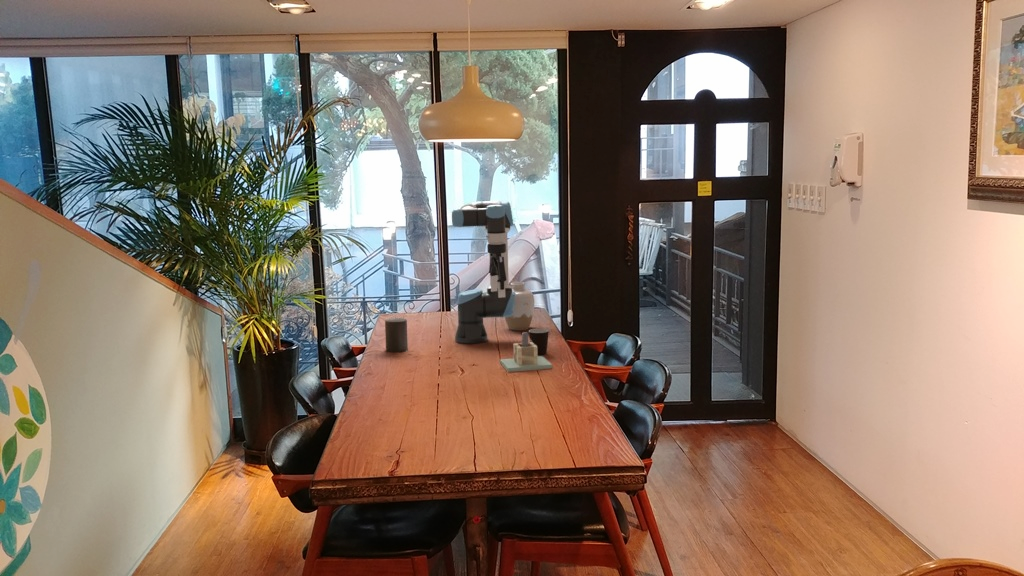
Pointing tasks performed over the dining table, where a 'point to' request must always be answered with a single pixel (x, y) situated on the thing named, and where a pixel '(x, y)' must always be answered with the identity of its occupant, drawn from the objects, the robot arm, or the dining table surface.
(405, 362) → the dining table surface
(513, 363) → the rod stand
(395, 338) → the pillar candle
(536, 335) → the coffee mug
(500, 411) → the dining table surface
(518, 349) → the wooden square ring
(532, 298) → the vase
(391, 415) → the dining table surface
